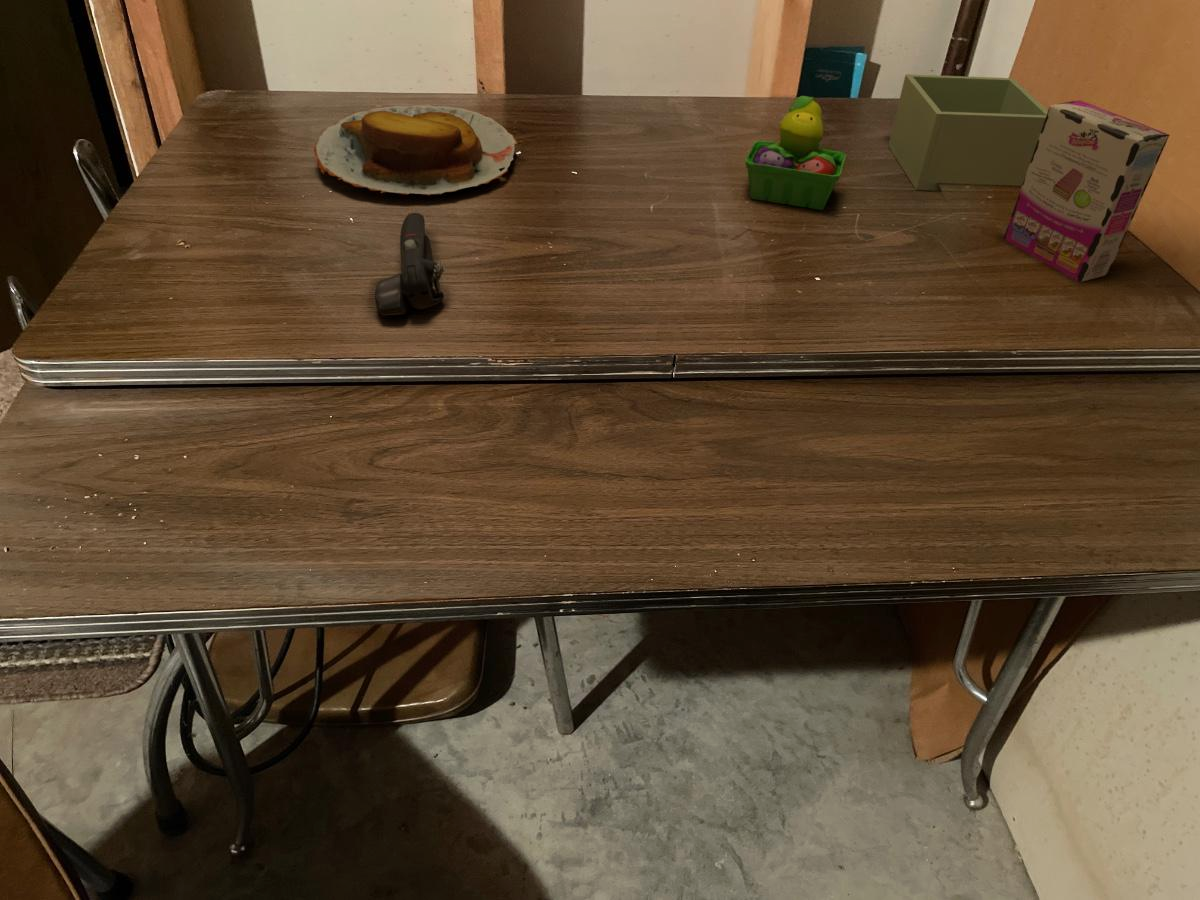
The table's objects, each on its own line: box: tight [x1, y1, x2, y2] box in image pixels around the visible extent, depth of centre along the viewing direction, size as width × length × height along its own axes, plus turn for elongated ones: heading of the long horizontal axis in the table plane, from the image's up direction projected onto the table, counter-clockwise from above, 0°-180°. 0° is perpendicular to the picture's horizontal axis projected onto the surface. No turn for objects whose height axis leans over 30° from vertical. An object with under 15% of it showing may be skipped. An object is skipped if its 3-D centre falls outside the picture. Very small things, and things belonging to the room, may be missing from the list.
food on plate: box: [313, 104, 520, 196], centre depth 115 cm, size 25×25×7 cm
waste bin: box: [887, 73, 1049, 192], centre depth 119 cm, size 15×15×10 cm
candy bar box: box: [1003, 99, 1170, 283], centre depth 98 cm, size 11×5×16 cm, turn 27°
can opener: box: [374, 212, 446, 316], centre depth 93 cm, size 18×7×6 cm, turn 5°
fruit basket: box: [744, 95, 847, 211], centre depth 111 cm, size 11×9×11 cm
